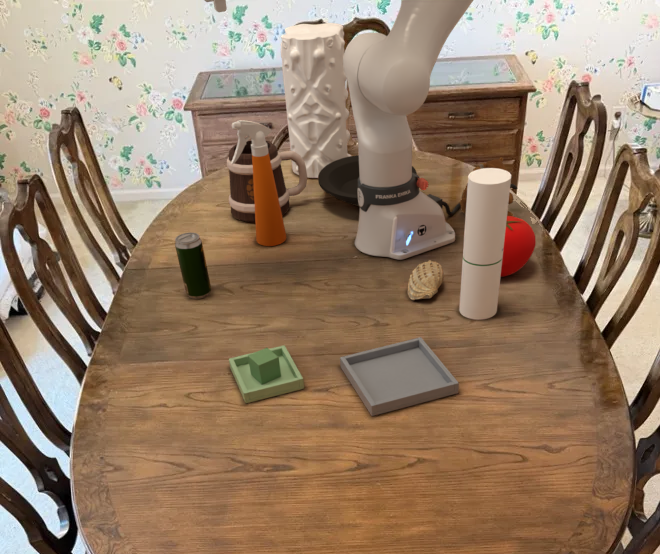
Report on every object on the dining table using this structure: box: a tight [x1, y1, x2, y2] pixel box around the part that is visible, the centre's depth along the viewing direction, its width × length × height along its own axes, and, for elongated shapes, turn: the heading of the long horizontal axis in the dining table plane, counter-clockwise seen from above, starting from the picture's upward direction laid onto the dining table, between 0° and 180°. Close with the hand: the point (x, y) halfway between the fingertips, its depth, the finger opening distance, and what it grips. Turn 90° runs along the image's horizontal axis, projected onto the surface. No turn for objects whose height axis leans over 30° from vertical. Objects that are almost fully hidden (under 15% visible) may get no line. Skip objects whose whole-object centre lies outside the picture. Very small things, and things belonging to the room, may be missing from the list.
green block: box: [248, 347, 281, 384], centre depth 126 cm, size 4×4×4 cm
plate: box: [317, 154, 418, 207], centre depth 178 cm, size 28×24×6 cm
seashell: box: [407, 259, 445, 301], centre depth 144 cm, size 8×6×10 cm
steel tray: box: [339, 336, 460, 417], centre depth 124 cm, size 16×16×2 cm
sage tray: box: [228, 344, 305, 404], centre depth 127 cm, size 11×12×2 cm
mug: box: [226, 139, 308, 224], centre depth 173 cm, size 20×15×15 cm
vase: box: [280, 22, 352, 179], centre depth 185 cm, size 17×16×32 cm
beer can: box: [174, 231, 212, 300], centre depth 147 cm, size 5×5×12 cm
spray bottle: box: [231, 119, 287, 247], centre depth 157 cm, size 7×11×26 cm, turn 127°
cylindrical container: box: [458, 168, 512, 321], centre depth 130 cm, size 7×7×25 cm
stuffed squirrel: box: [458, 157, 514, 217], centre depth 163 cm, size 10×14×13 cm
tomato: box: [500, 215, 537, 278], centre depth 146 cm, size 14×13×10 cm
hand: (214, 6), depth 122 cm, fingers open, 8 cm apart
